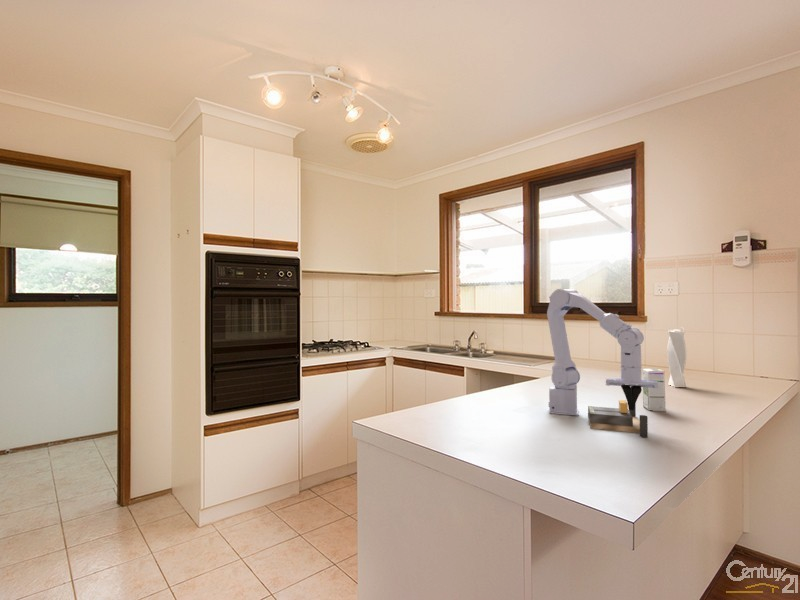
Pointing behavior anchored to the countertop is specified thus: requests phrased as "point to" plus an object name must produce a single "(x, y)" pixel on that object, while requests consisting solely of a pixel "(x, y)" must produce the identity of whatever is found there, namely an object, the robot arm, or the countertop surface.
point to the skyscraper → (676, 357)
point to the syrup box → (654, 390)
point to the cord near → (643, 426)
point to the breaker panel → (618, 428)
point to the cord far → (633, 412)
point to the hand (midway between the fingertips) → (631, 409)
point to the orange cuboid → (623, 406)
